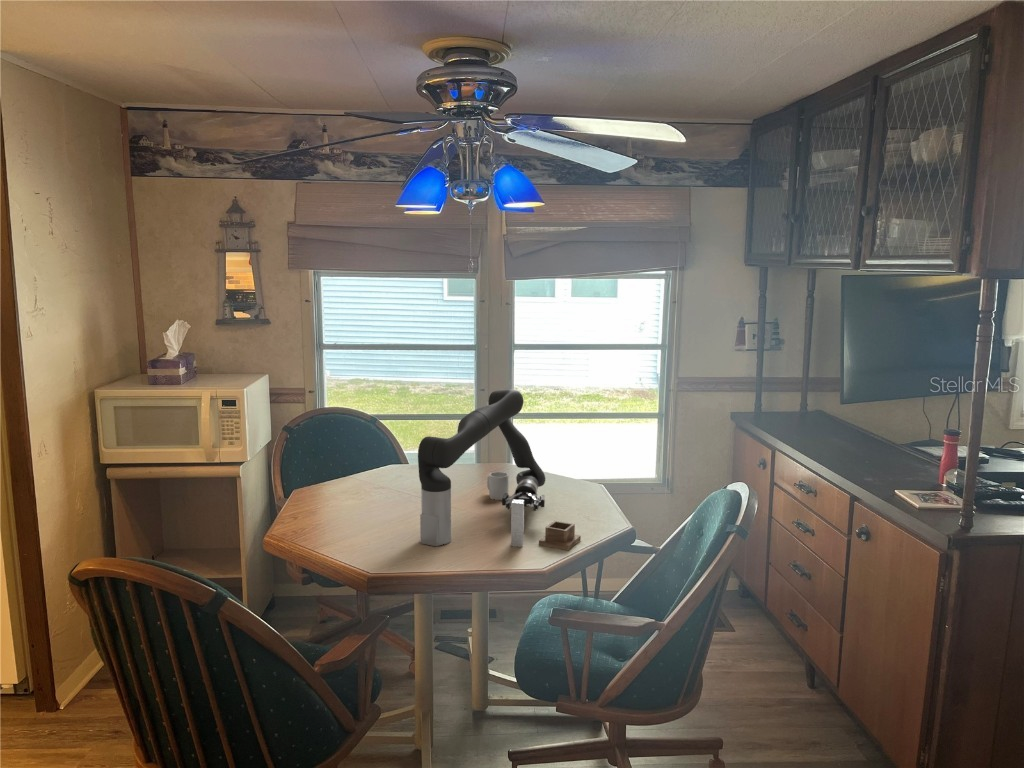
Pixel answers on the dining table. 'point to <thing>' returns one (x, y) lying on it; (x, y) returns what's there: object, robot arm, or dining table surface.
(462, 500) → the dining table surface
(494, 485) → the cup
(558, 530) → the wooden socket base
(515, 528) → the grey rectangular block
